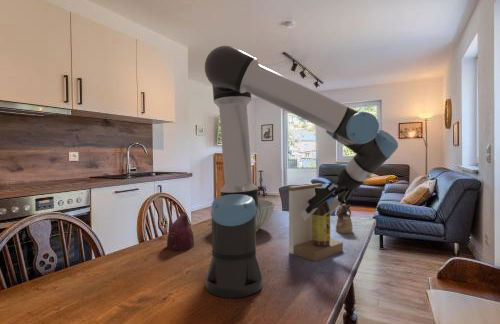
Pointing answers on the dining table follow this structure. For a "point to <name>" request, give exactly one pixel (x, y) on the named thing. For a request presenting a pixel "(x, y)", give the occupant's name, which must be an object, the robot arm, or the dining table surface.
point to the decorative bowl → (264, 212)
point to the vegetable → (180, 235)
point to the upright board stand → (306, 226)
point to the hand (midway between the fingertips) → (315, 214)
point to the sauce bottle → (321, 223)
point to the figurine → (344, 220)
